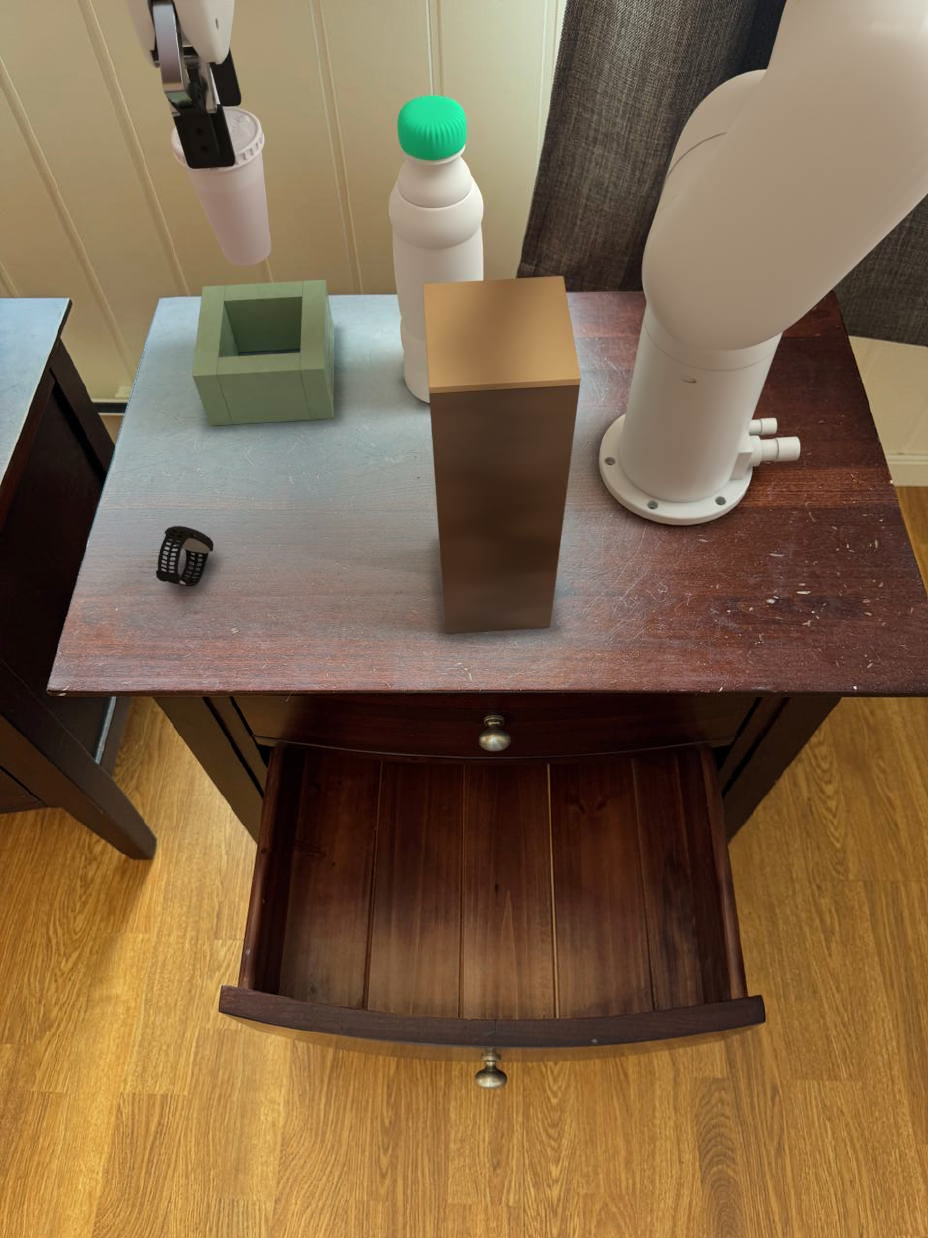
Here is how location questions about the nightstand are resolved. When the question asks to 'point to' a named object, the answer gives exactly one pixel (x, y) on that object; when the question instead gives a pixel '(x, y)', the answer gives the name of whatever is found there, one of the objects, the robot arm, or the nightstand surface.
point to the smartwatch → (191, 544)
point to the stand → (273, 379)
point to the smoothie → (235, 190)
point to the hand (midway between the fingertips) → (215, 131)
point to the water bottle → (432, 220)
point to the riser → (500, 445)
